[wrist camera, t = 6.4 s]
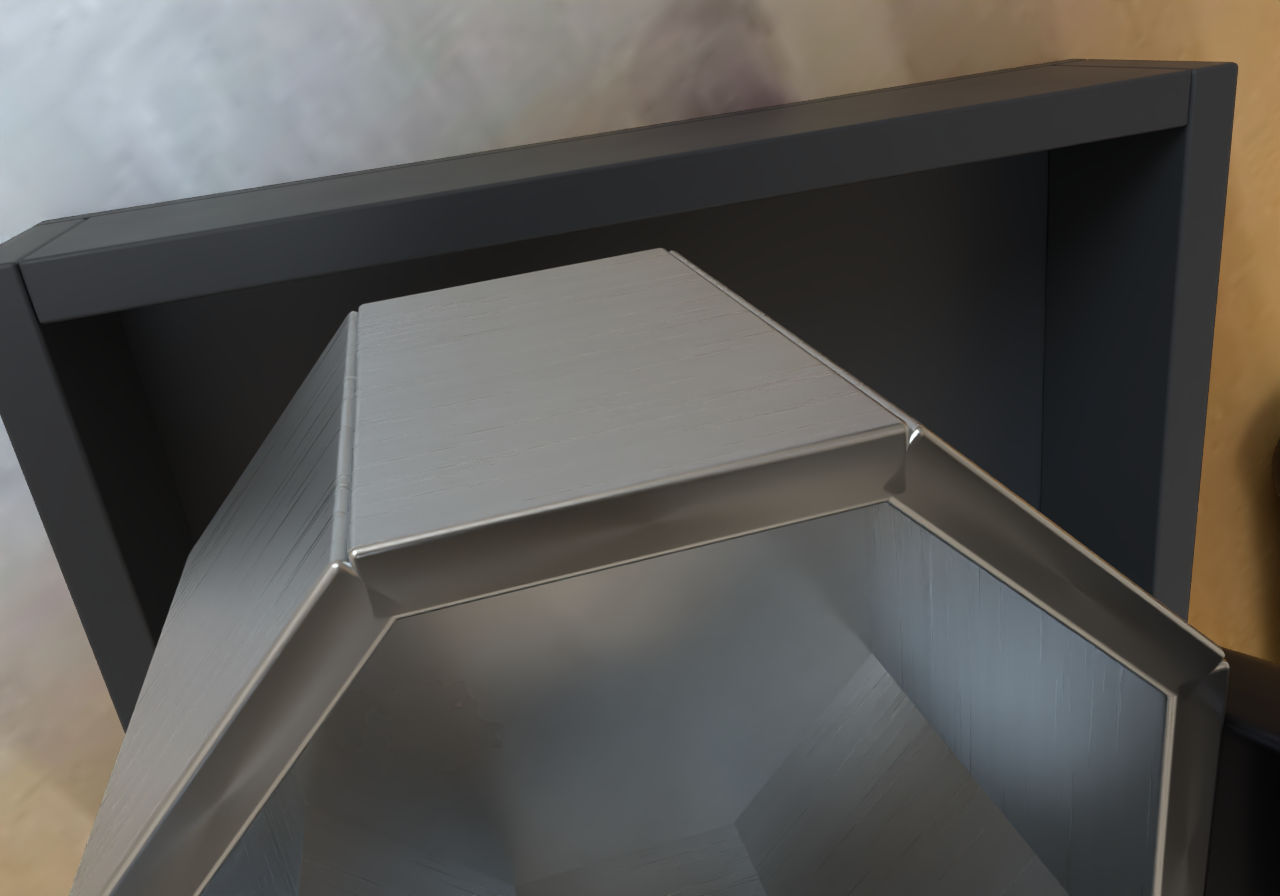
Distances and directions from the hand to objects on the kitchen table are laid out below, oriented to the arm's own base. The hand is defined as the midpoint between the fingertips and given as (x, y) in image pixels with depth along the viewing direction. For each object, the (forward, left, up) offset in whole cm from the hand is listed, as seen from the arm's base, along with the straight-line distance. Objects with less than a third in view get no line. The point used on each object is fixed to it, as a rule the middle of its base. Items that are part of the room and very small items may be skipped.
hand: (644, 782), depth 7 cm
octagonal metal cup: (0, 0, -3) cm, 3 cm away
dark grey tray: (-3, +4, -12) cm, 13 cm away
